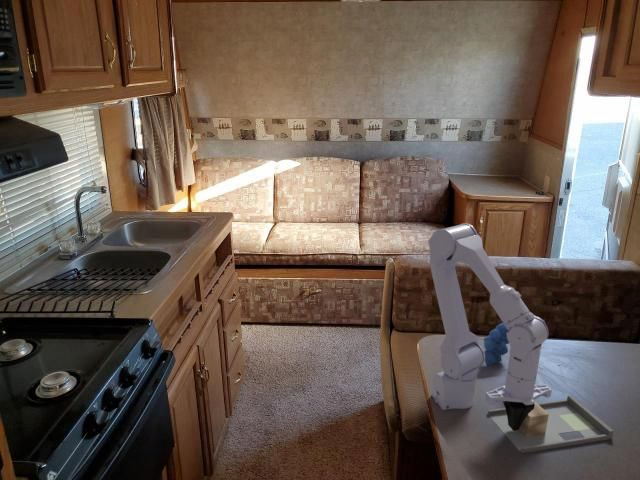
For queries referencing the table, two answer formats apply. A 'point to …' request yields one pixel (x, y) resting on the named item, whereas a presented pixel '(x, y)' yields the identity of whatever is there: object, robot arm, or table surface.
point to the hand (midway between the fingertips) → (513, 427)
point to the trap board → (556, 426)
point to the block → (535, 422)
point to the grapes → (496, 345)
